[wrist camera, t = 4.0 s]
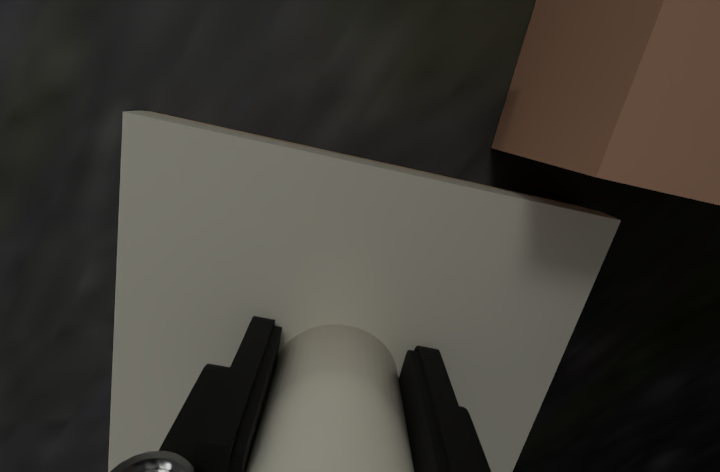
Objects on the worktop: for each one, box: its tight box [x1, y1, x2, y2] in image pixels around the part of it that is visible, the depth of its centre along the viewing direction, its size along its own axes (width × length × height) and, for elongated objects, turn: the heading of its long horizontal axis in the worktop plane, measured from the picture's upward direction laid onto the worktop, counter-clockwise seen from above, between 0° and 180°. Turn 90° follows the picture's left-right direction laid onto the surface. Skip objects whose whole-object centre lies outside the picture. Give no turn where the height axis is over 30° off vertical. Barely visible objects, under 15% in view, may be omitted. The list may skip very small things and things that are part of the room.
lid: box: [108, 111, 621, 472], centre depth 8 cm, size 11×11×6 cm
